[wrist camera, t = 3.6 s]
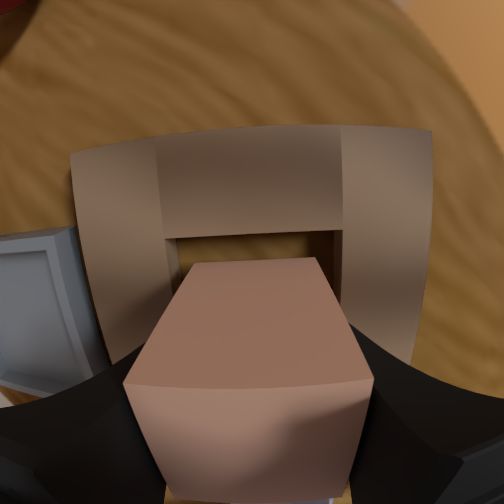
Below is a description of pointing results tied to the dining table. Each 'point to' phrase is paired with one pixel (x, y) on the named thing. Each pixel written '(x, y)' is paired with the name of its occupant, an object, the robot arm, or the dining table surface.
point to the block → (252, 385)
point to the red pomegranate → (9, 5)
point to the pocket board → (259, 217)
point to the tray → (46, 314)
